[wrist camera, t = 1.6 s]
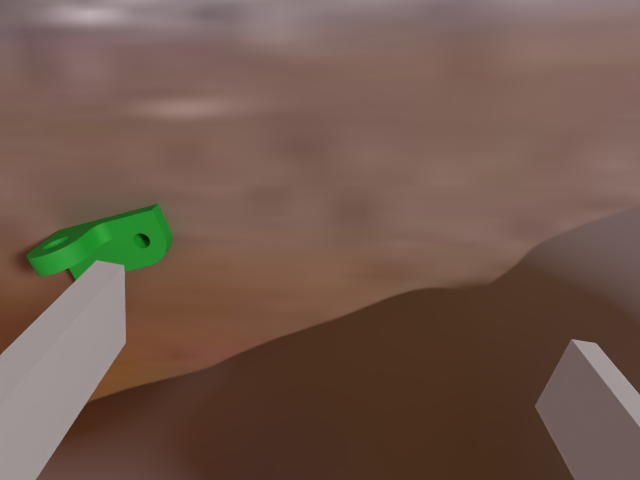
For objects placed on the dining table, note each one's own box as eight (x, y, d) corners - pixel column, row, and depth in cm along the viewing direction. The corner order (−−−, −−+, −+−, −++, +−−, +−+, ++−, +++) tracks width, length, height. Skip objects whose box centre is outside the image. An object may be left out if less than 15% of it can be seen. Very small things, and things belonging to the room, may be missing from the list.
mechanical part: (86, 274, 51) (46, 314, 44) (60, 229, 49) (13, 263, 41) (180, 251, 49) (155, 288, 42) (158, 203, 47) (128, 233, 40)
